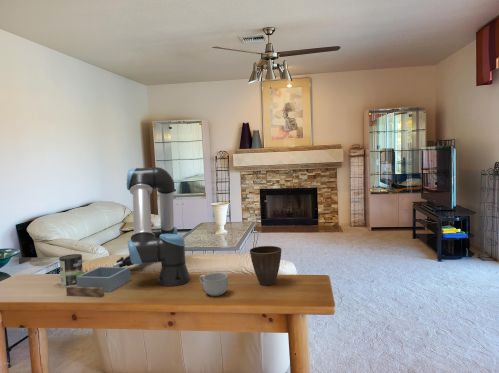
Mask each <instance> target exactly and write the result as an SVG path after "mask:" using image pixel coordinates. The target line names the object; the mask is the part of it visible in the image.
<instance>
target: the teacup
mask: <svg viewBox="0 0 499 373" xmlns="http://www.w3.org/2000/svg"><path fill="white" fill-rule="evenodd" d="M228 278H229V277H228V274H227V273H225V272H221V271H220V272H217V271H216V272H210V273H207V274H201V275H200V276H199V282H200V284H201V285H203V289H204V292H205V293H206V294H208V296H211V297H218V296H221V295H224V293H225V292H226V291H227V290H228V287H229V285H228V284H229V283H228V282H229V280H228Z"/></svg>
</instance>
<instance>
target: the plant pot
mask: <svg viewBox="0 0 499 373" xmlns="http://www.w3.org/2000/svg"><path fill="white" fill-rule="evenodd" d="M249 255H250V259H251V263H252V268H253V270H254V273H255V276H256V278H257V280H258V282H259V283H258V284H260V285H262V286H272V285H274V284H275V283H276V282H277V278H278V275H279V270H280V264H281V260H282V258H281V257H282V248H281V247H279V246H275V245H274V246H273V245H262V246H256V247H252V248H250V249H249Z"/></svg>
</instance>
